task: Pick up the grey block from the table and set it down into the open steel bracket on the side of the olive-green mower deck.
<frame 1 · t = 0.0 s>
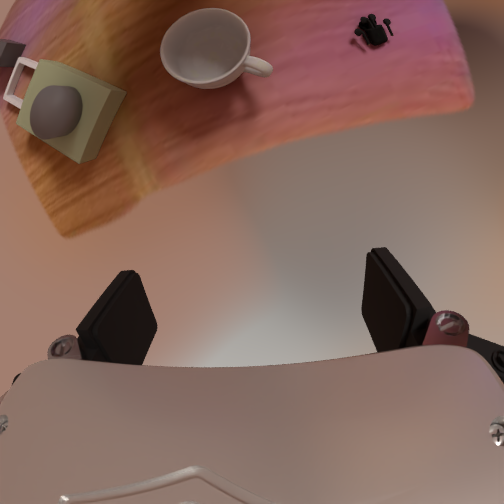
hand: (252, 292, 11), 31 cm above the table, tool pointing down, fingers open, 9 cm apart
grey block: (13, 52, 27), on the table
teacup: (223, 62, 32), on the table
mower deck: (73, 106, 34), on the table
wireless earbuds: (370, 32, 29), on the table
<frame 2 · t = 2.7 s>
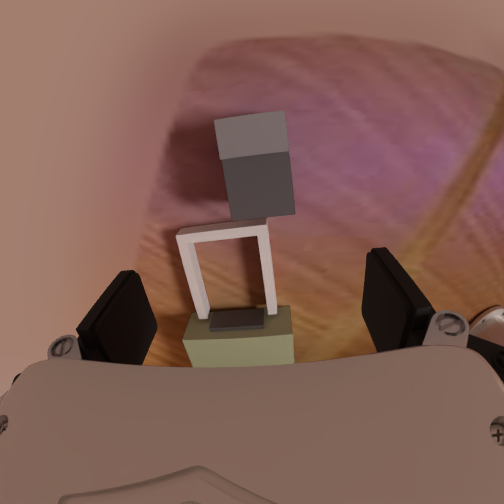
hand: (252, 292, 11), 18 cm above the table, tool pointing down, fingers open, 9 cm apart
grey block: (258, 158, 25), on the table
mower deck: (250, 360, 37), on the table
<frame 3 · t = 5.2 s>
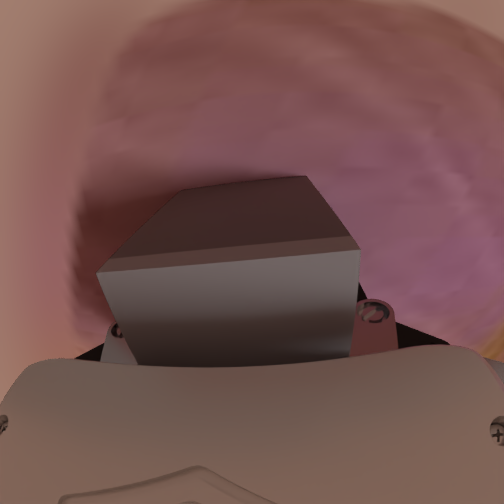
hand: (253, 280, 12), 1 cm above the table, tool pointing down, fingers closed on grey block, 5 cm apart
grey block: (254, 271, 12), on the table, touching gripper
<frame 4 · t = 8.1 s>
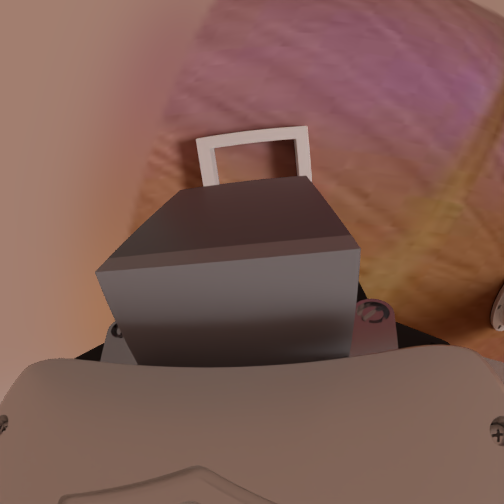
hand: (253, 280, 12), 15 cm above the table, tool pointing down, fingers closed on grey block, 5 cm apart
grey block: (254, 271, 12), point 14 cm above the table, touching gripper
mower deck: (273, 318, 31), on the table
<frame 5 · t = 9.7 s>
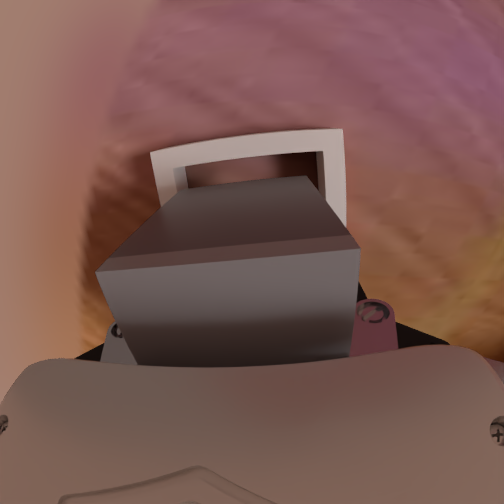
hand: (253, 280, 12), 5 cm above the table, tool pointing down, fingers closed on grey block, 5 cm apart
grey block: (254, 271, 12), point 4 cm above the table, touching gripper
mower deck: (276, 389, 22), on the table
when the fingers open (3 cm above the table, at t = 10.9 s): grey block drops 2 cm, resting in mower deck.
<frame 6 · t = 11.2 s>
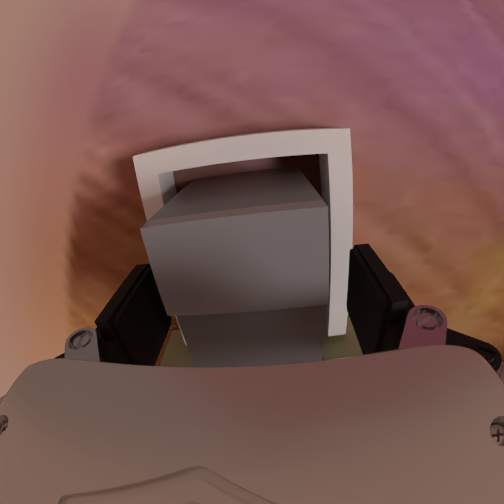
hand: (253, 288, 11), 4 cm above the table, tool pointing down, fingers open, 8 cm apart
grey block: (255, 248, 15), resting in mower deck
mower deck: (274, 403, 21), on the table
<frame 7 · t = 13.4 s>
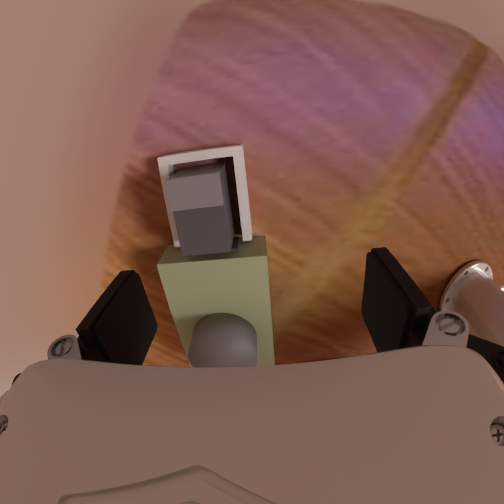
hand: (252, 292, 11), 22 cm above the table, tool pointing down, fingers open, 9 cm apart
grey block: (208, 198, 31), resting in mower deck
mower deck: (225, 300, 38), on the table
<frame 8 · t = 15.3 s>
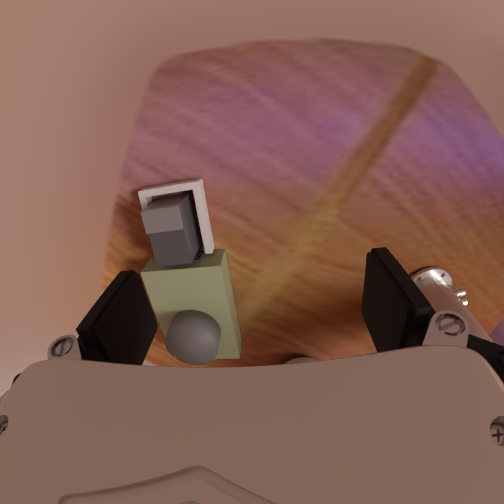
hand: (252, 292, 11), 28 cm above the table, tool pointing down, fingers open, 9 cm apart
grey block: (179, 221, 40), resting in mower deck
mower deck: (198, 301, 46), on the table
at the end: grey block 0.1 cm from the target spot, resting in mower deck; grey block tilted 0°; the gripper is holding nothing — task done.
